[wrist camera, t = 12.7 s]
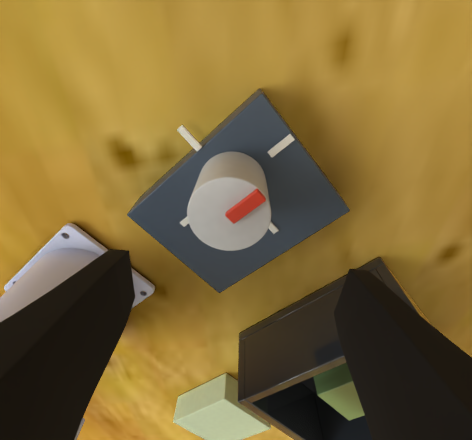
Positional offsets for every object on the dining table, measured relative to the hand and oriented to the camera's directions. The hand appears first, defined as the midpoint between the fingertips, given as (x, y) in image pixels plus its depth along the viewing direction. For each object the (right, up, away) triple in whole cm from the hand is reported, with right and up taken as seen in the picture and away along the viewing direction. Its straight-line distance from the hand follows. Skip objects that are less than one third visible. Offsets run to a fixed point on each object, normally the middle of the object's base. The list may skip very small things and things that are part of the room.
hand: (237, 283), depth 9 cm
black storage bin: (+9, -8, +15) cm, 19 cm away
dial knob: (0, +4, +6) cm, 7 cm away
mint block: (-1, -17, +21) cm, 27 cm away
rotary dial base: (0, +4, +9) cm, 10 cm away
